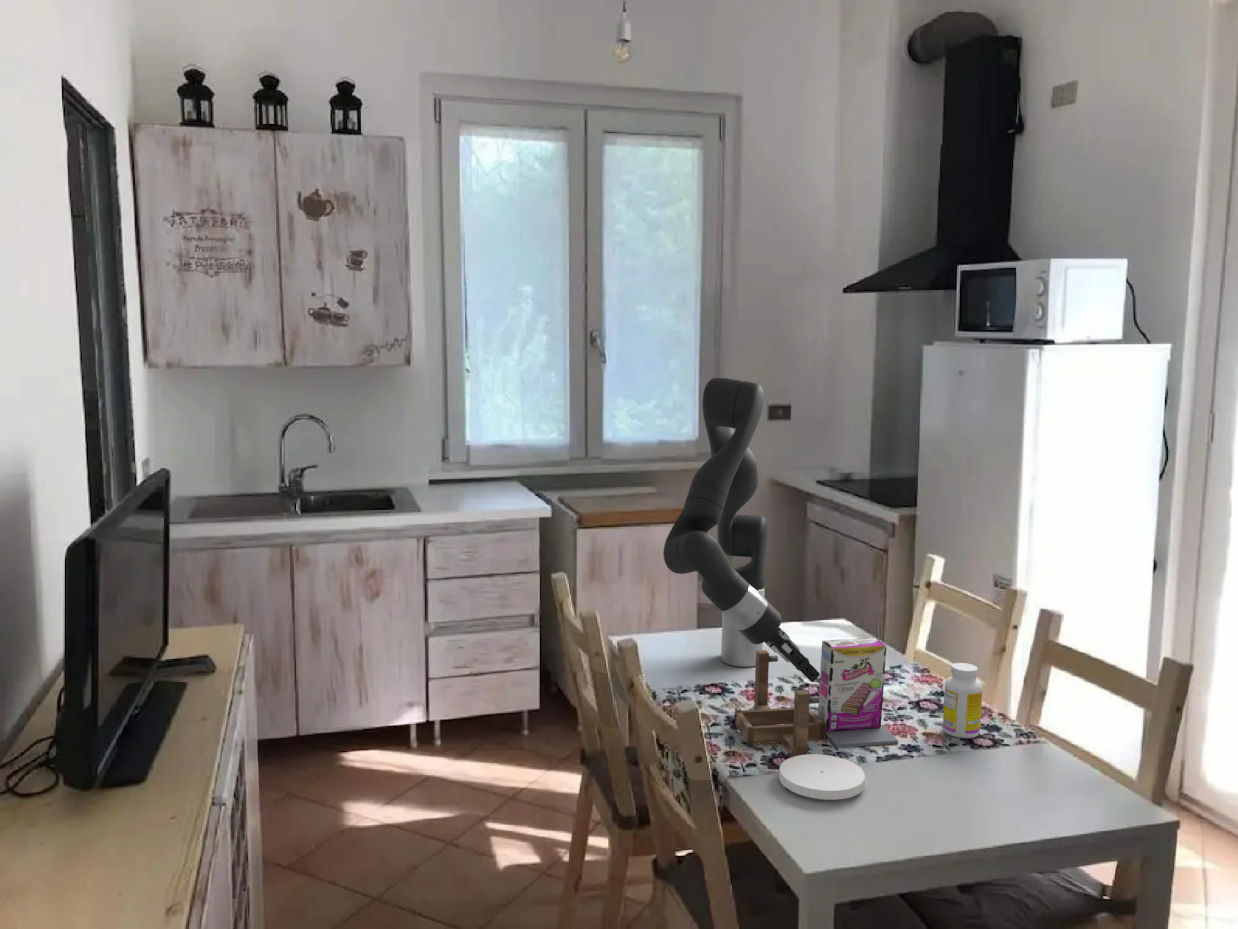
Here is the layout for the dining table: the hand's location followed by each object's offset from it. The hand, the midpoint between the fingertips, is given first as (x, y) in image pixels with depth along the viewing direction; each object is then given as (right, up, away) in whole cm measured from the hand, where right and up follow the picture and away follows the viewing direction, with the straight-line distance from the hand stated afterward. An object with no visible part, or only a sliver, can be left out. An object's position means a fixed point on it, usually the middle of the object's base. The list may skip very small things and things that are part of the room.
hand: (807, 670), depth 193 cm
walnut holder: (-5, -12, +1) cm, 13 cm away
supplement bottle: (+29, -12, +2) cm, 32 cm away
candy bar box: (+9, -11, +3) cm, 15 cm away
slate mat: (+9, -12, +3) cm, 15 cm away
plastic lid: (-1, -15, -20) cm, 25 cm away
